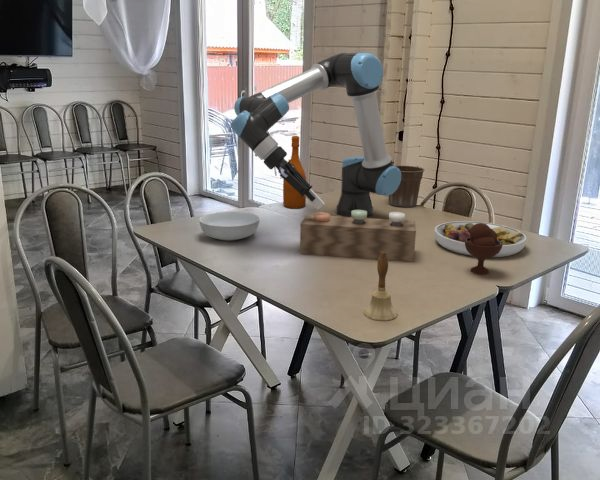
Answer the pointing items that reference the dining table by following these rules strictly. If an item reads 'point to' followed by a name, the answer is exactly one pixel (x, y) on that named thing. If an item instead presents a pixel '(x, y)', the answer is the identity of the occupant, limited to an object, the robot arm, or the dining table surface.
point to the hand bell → (381, 296)
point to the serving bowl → (229, 225)
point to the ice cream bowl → (482, 246)
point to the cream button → (396, 218)
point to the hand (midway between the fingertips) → (321, 206)
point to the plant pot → (407, 187)
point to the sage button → (359, 216)
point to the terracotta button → (321, 217)
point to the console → (358, 238)
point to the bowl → (457, 231)
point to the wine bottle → (289, 193)
